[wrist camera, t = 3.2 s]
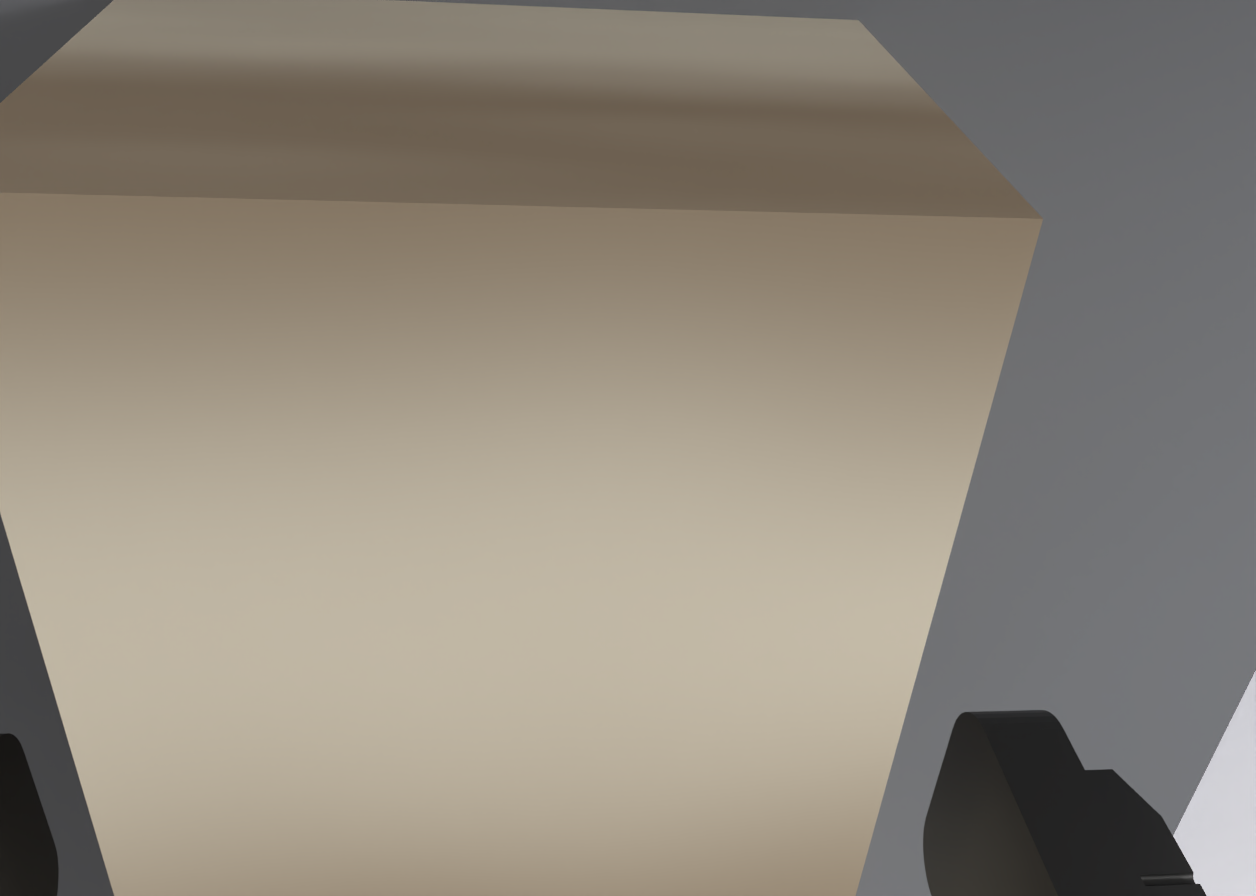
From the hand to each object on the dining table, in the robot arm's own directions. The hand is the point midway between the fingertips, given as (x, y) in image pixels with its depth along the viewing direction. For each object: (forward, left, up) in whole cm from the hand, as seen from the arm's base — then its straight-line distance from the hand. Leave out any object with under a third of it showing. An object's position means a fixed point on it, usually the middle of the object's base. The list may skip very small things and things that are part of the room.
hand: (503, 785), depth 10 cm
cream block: (0, 0, -2) cm, 2 cm away
